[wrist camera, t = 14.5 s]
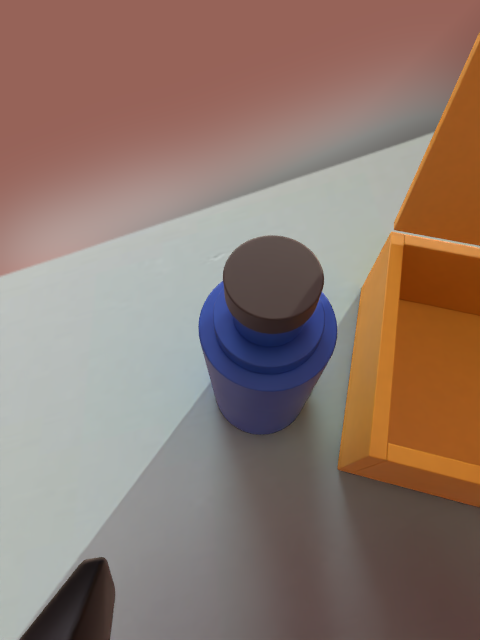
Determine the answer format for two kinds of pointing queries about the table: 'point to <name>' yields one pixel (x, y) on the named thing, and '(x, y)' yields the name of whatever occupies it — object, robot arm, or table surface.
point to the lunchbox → (417, 371)
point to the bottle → (267, 333)
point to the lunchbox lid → (450, 168)
